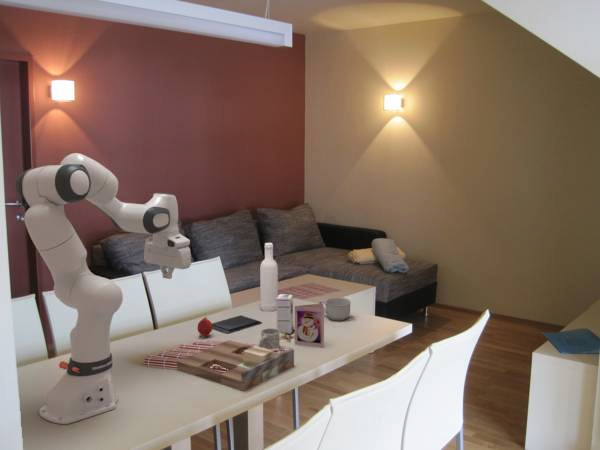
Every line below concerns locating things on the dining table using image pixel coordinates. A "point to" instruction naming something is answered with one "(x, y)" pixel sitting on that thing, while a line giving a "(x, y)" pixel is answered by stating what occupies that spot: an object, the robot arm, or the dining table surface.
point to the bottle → (268, 280)
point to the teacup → (337, 308)
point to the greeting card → (309, 325)
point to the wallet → (234, 324)
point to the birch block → (256, 356)
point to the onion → (204, 327)
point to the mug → (269, 339)
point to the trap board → (234, 365)
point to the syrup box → (285, 313)
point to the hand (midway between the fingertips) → (167, 278)
